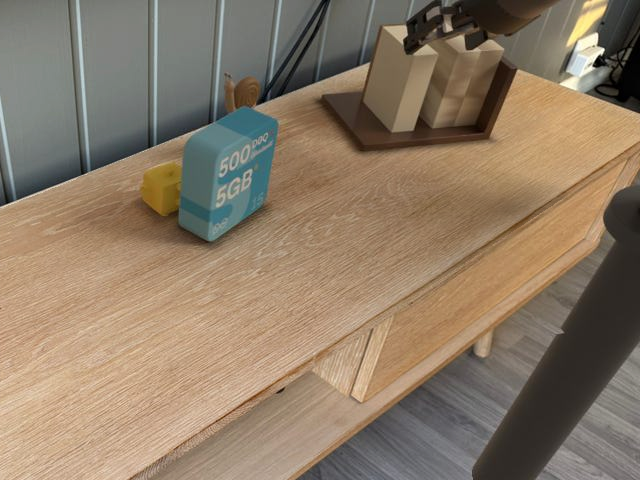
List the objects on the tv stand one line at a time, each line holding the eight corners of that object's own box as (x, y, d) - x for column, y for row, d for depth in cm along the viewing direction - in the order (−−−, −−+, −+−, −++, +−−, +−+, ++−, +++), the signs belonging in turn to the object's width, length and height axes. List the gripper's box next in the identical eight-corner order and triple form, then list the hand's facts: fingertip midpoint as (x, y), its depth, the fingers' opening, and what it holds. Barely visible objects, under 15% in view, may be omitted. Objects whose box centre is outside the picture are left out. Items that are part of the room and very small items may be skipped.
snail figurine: (203, 152, 97) (211, 65, 88) (236, 137, 100) (247, 52, 91) (231, 169, 94) (242, 81, 85) (264, 154, 97) (278, 68, 88)
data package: (206, 247, 82) (216, 154, 74) (176, 230, 84) (182, 138, 76) (265, 204, 89) (281, 115, 80) (236, 190, 91) (249, 101, 82)
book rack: (437, 91, 112) (464, 12, 104) (488, 139, 103) (523, 56, 94) (320, 100, 109) (338, 19, 100) (362, 151, 99) (385, 66, 90)
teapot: (156, 231, 84) (157, 193, 80) (128, 207, 87) (128, 170, 83) (208, 209, 87) (212, 173, 84) (180, 187, 91) (182, 151, 87)
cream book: (382, 97, 108) (403, 23, 100) (413, 130, 101) (439, 53, 93) (360, 99, 107) (379, 24, 99) (391, 132, 101) (414, 55, 93)
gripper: (579, -58, 76) (483, 12, 92) (460, -53, 73) (382, 18, 89) (587, 13, 76) (489, 71, 92) (469, 21, 74) (390, 78, 90)
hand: (437, 45), depth 91 cm, fingers open, 8 cm apart
